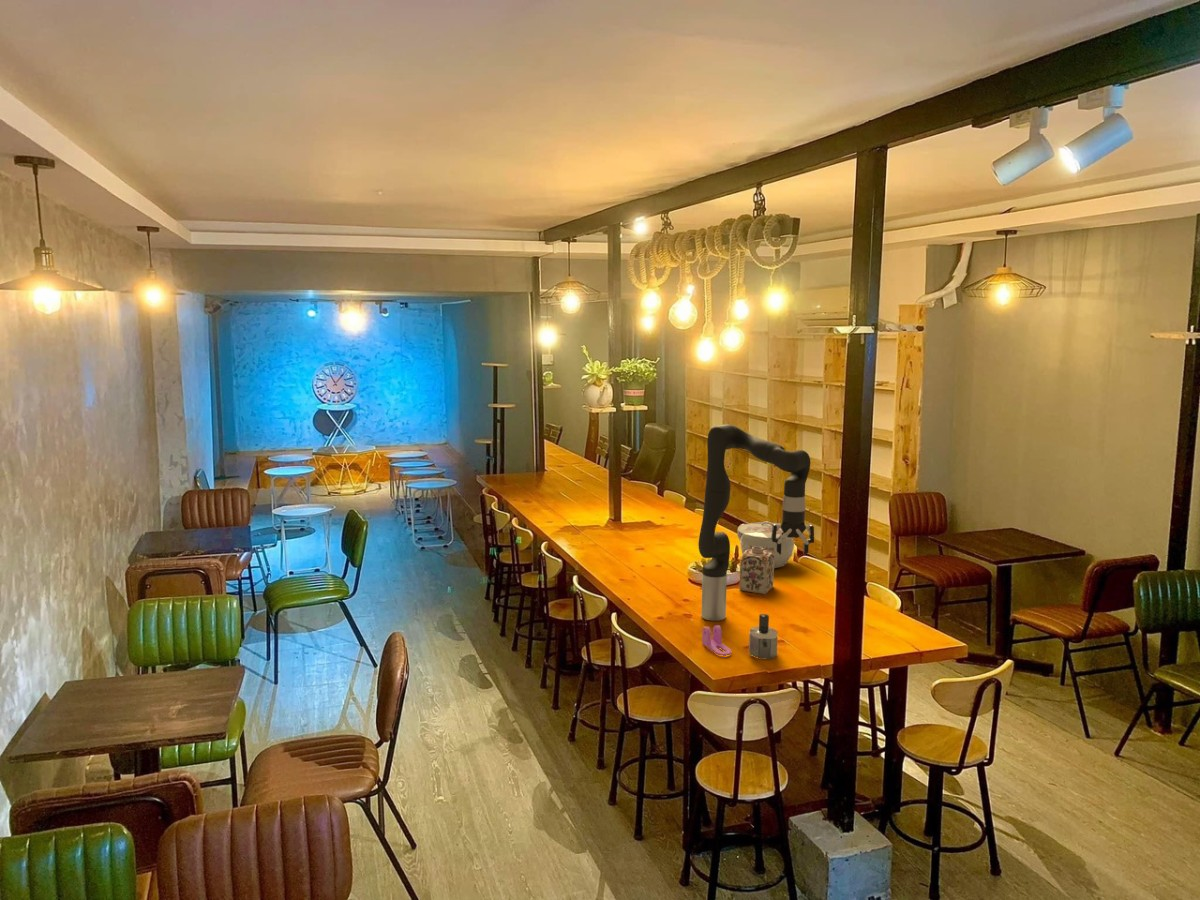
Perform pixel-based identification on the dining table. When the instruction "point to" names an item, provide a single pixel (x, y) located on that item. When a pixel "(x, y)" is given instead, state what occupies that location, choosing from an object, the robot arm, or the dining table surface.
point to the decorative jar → (756, 570)
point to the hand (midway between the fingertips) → (792, 554)
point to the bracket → (714, 640)
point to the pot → (763, 648)
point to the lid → (763, 629)
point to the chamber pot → (765, 541)
